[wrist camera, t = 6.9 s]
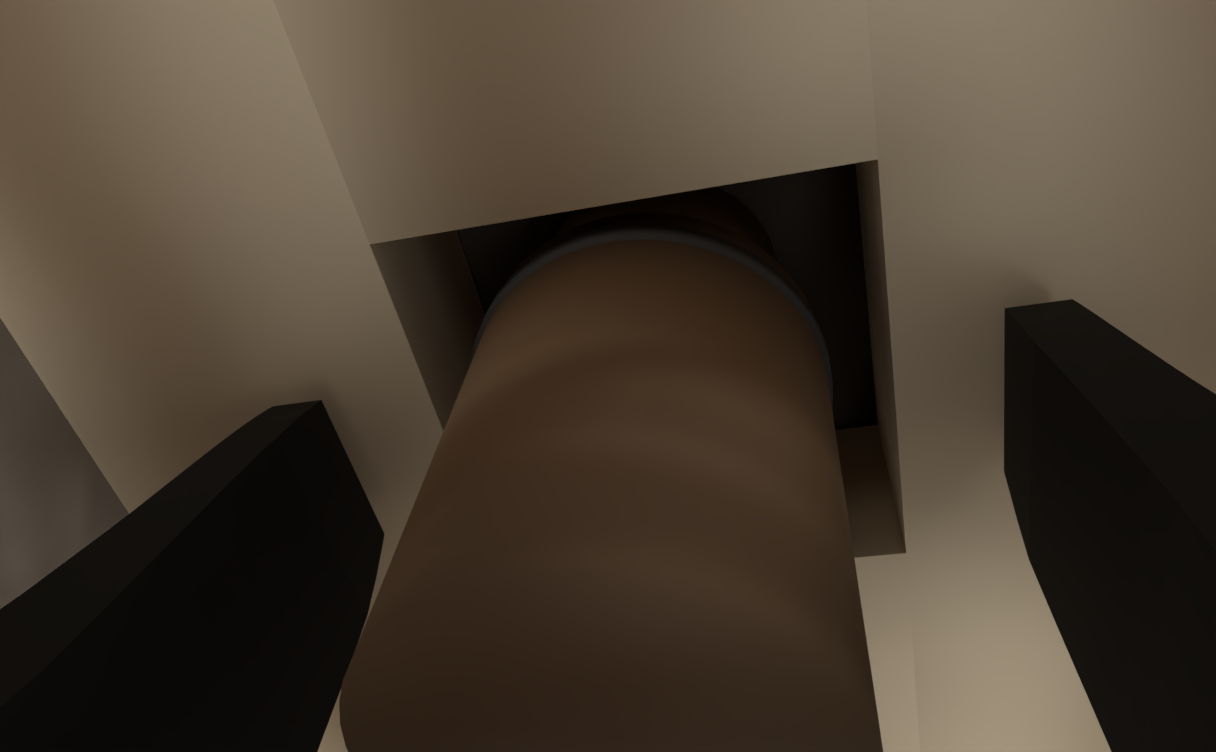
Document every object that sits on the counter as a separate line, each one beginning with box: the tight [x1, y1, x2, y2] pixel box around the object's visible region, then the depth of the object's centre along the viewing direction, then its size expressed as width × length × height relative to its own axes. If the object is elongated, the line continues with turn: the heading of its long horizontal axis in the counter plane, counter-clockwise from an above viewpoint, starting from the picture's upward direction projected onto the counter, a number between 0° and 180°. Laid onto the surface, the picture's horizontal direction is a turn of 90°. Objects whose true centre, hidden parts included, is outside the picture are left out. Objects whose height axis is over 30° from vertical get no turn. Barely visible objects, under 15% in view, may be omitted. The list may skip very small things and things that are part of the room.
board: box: [0, 0, 1216, 752], centre depth 10 cm, size 18×18×2 cm
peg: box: [339, 187, 883, 752], centre depth 10 cm, size 4×4×7 cm
